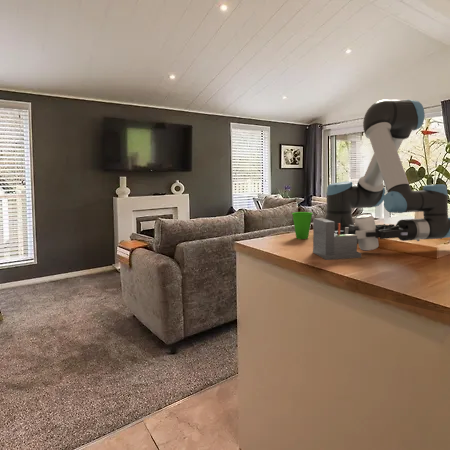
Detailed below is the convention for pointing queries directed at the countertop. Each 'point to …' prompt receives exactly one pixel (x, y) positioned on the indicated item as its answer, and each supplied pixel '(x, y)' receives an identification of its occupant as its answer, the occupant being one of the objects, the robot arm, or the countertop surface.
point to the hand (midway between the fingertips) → (350, 233)
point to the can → (366, 223)
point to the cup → (302, 224)
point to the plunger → (351, 229)
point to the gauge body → (333, 241)
